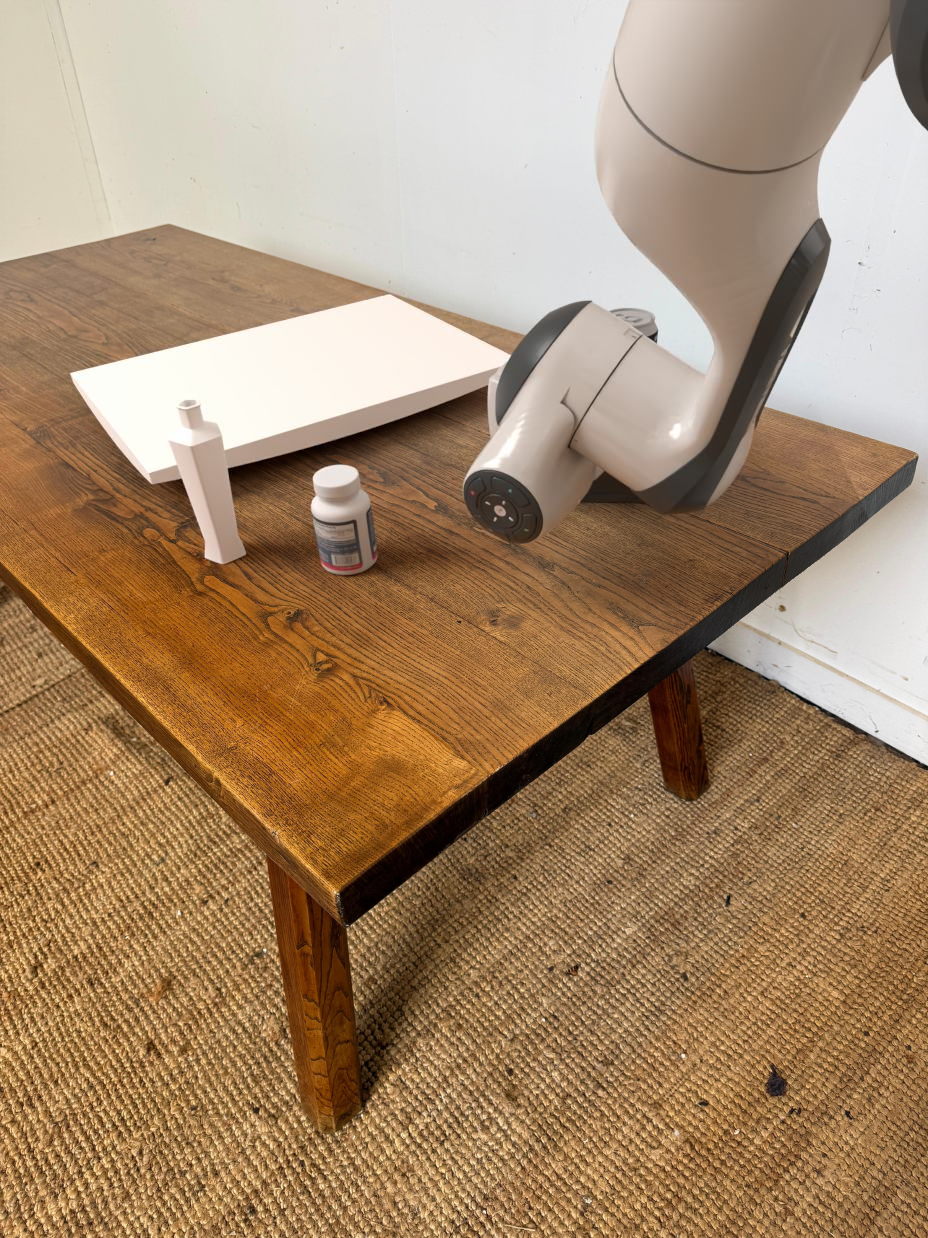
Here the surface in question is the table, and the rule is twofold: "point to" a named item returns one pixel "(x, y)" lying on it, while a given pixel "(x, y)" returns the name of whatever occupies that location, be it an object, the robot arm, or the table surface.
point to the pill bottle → (343, 521)
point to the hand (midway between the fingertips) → (627, 367)
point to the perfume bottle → (207, 481)
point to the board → (288, 382)
